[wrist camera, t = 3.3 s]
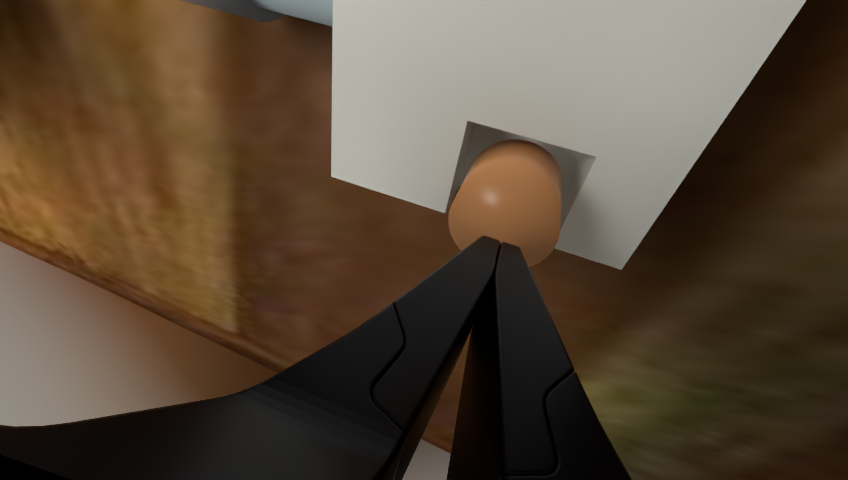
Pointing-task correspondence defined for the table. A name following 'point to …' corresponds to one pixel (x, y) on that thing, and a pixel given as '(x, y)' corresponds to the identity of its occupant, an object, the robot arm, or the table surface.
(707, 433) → the table surface
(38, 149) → the table surface
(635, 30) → the housing
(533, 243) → the plunger
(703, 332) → the table surface
